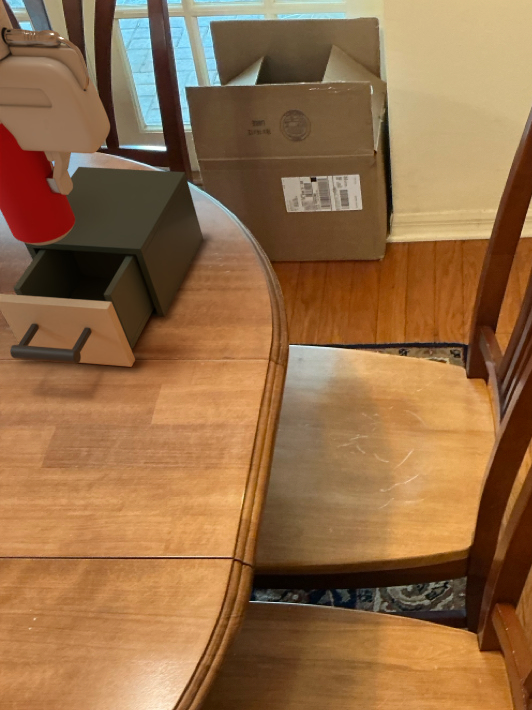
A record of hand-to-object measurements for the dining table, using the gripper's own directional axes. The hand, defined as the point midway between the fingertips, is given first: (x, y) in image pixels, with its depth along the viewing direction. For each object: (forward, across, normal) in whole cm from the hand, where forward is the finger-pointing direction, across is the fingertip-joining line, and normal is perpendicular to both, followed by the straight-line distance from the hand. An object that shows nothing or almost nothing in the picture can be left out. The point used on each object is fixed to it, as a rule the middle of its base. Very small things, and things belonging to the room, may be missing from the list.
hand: (26, 189), depth 74 cm
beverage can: (+5, 0, 0) cm, 5 cm away
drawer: (+18, 0, 0) cm, 18 cm away
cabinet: (+19, 0, -13) cm, 23 cm away
